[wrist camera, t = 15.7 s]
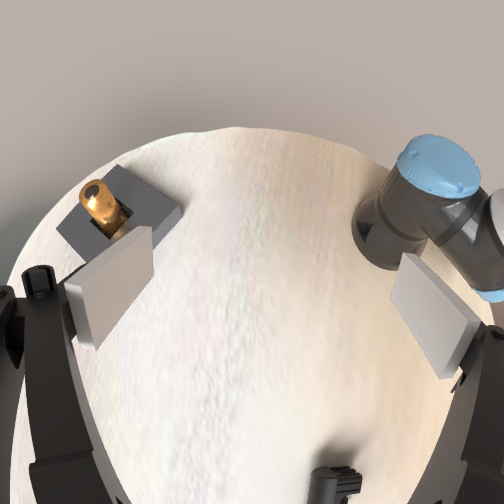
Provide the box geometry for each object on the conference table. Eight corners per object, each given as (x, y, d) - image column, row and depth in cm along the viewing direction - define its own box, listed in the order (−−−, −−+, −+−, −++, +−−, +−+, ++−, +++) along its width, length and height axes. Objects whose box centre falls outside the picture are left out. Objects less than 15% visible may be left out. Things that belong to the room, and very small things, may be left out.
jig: (123, 175, 57) (117, 163, 54) (182, 216, 53) (178, 204, 49) (65, 237, 51) (55, 228, 47) (117, 291, 47) (108, 284, 43)
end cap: (307, 465, 36) (316, 478, 30) (350, 463, 36) (365, 474, 30) (300, 514, 32) (307, 532, 26) (342, 511, 32) (354, 527, 26)
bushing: (119, 212, 54) (94, 174, 42) (135, 224, 52) (110, 186, 41) (102, 231, 52) (73, 196, 41) (118, 244, 51) (89, 210, 40)
